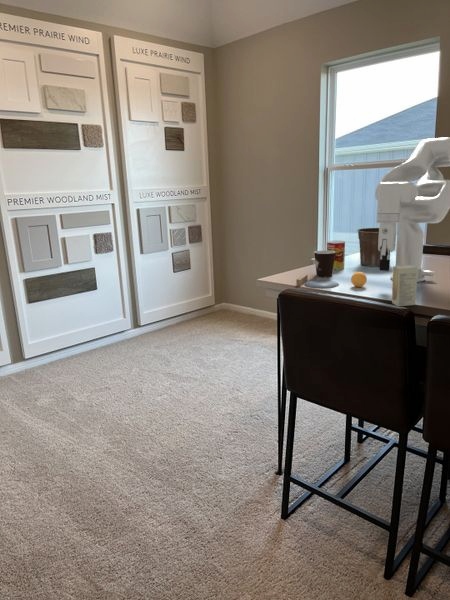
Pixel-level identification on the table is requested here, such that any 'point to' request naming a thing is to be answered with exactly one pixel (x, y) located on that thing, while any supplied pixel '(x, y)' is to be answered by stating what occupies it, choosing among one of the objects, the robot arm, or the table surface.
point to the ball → (358, 279)
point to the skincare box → (404, 285)
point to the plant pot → (369, 247)
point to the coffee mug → (324, 263)
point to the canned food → (337, 253)
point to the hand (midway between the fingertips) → (384, 270)
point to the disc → (321, 284)
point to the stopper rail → (301, 280)
